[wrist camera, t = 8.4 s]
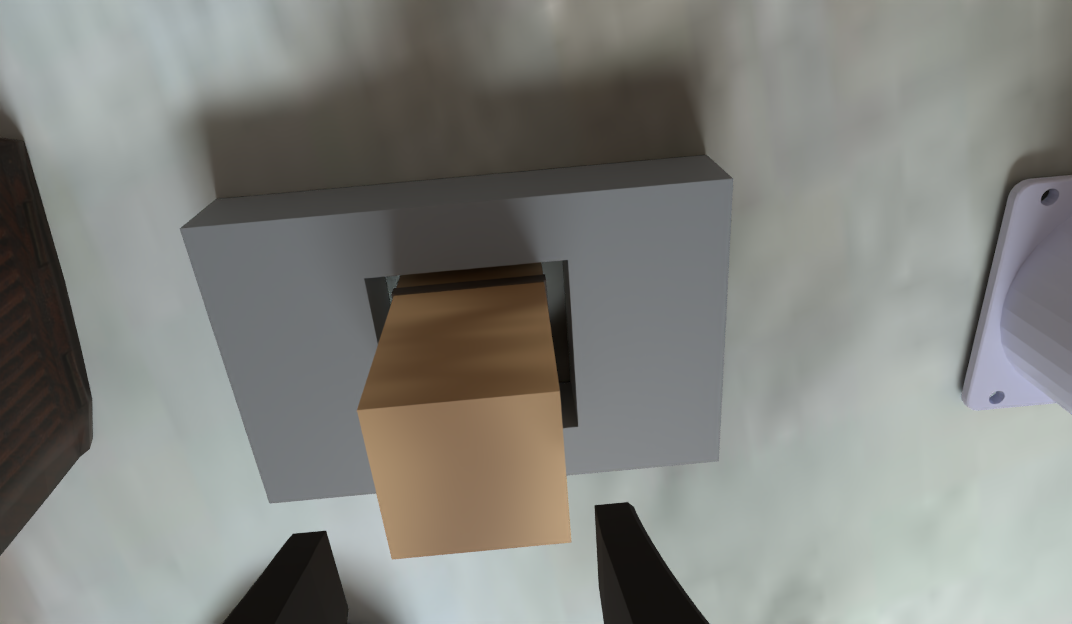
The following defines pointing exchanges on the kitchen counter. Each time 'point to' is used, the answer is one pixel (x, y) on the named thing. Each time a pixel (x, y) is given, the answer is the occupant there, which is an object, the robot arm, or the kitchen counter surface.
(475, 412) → the oak peg
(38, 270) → the manual coffee grinder
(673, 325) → the hole board
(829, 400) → the kitchen counter surface
